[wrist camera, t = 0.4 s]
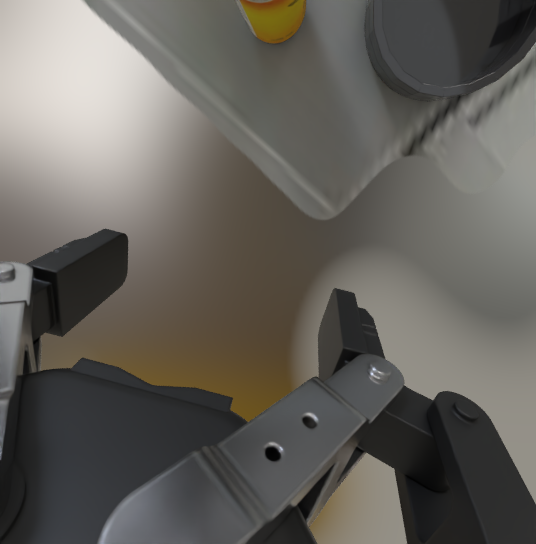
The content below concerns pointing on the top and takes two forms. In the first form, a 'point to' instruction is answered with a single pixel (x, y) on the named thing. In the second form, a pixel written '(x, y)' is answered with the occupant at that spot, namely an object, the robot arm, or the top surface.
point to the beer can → (273, 18)
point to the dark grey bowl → (447, 43)
